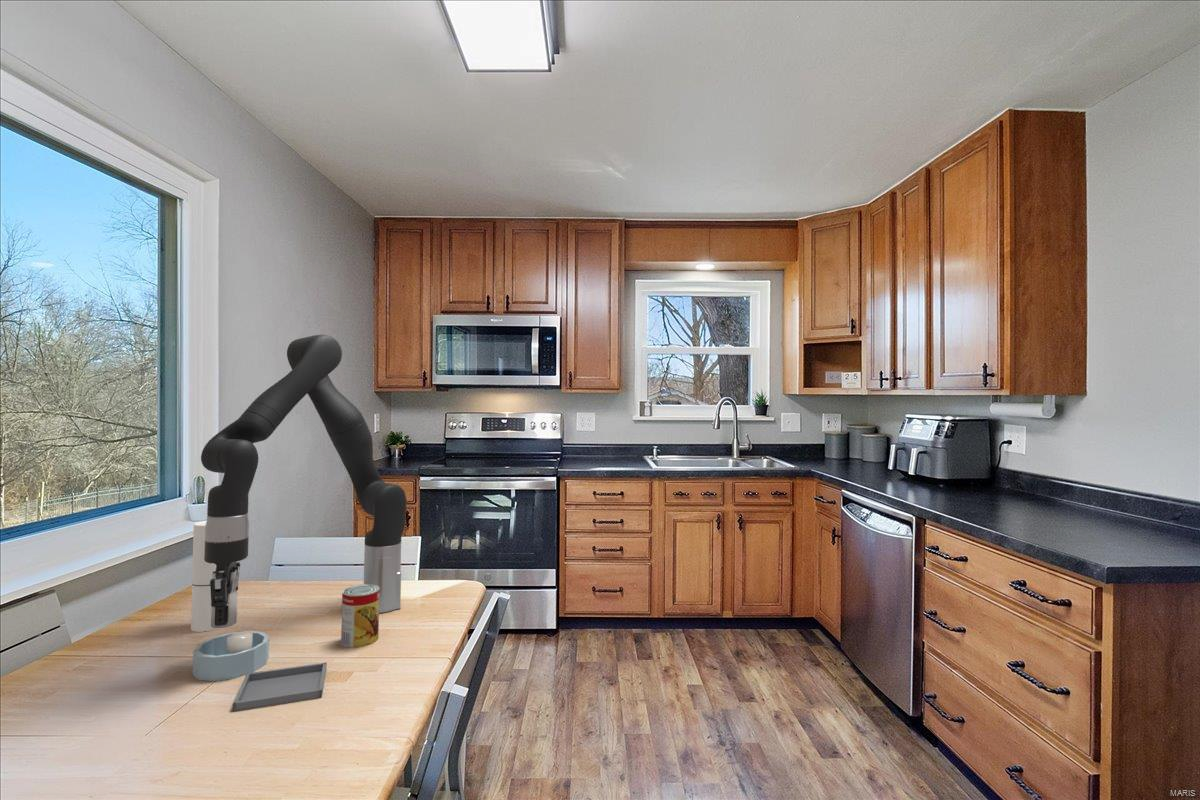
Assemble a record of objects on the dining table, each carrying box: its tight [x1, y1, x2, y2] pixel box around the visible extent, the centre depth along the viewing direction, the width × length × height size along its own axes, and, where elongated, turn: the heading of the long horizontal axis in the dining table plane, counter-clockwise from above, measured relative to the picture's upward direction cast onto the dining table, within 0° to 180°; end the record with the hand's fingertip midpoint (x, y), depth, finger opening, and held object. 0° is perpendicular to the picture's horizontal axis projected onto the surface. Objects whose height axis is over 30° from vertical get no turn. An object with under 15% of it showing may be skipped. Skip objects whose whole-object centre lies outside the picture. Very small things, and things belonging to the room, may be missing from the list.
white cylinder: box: [211, 591, 238, 629], centre depth 116 cm, size 4×4×6 cm
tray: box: [232, 661, 328, 712], centre depth 107 cm, size 14×12×2 cm
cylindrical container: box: [190, 520, 220, 633], centre depth 137 cm, size 7×7×25 cm
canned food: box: [340, 583, 380, 648], centre depth 129 cm, size 8×8×12 cm
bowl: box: [192, 630, 270, 682], centre depth 116 cm, size 13×13×5 cm
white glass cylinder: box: [227, 630, 253, 654], centre depth 115 cm, size 4×4×6 cm
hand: (224, 620), depth 116 cm, fingers closed on white cylinder, 4 cm apart
